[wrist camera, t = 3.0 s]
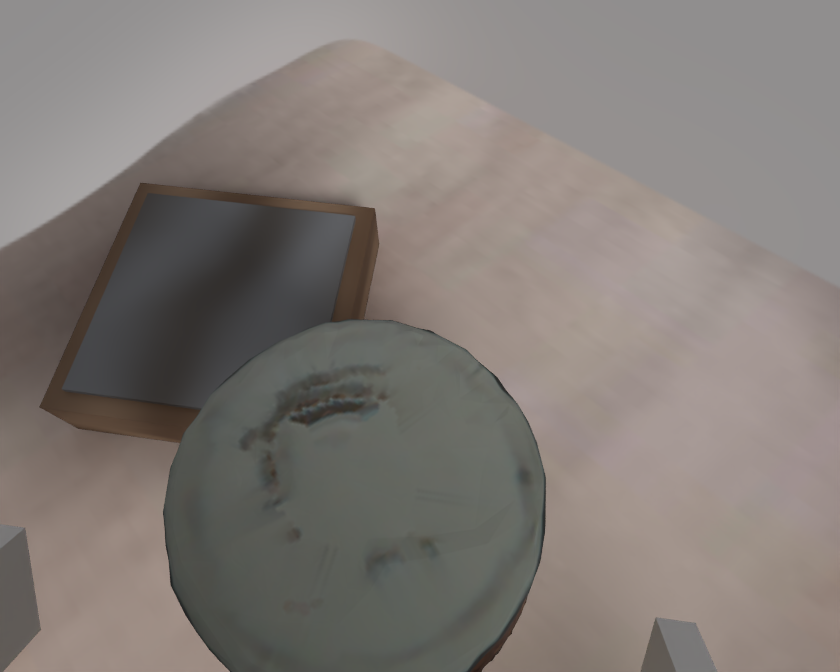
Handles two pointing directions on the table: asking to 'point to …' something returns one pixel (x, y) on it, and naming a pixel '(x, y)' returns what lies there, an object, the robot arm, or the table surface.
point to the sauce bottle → (356, 507)
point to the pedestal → (204, 301)
